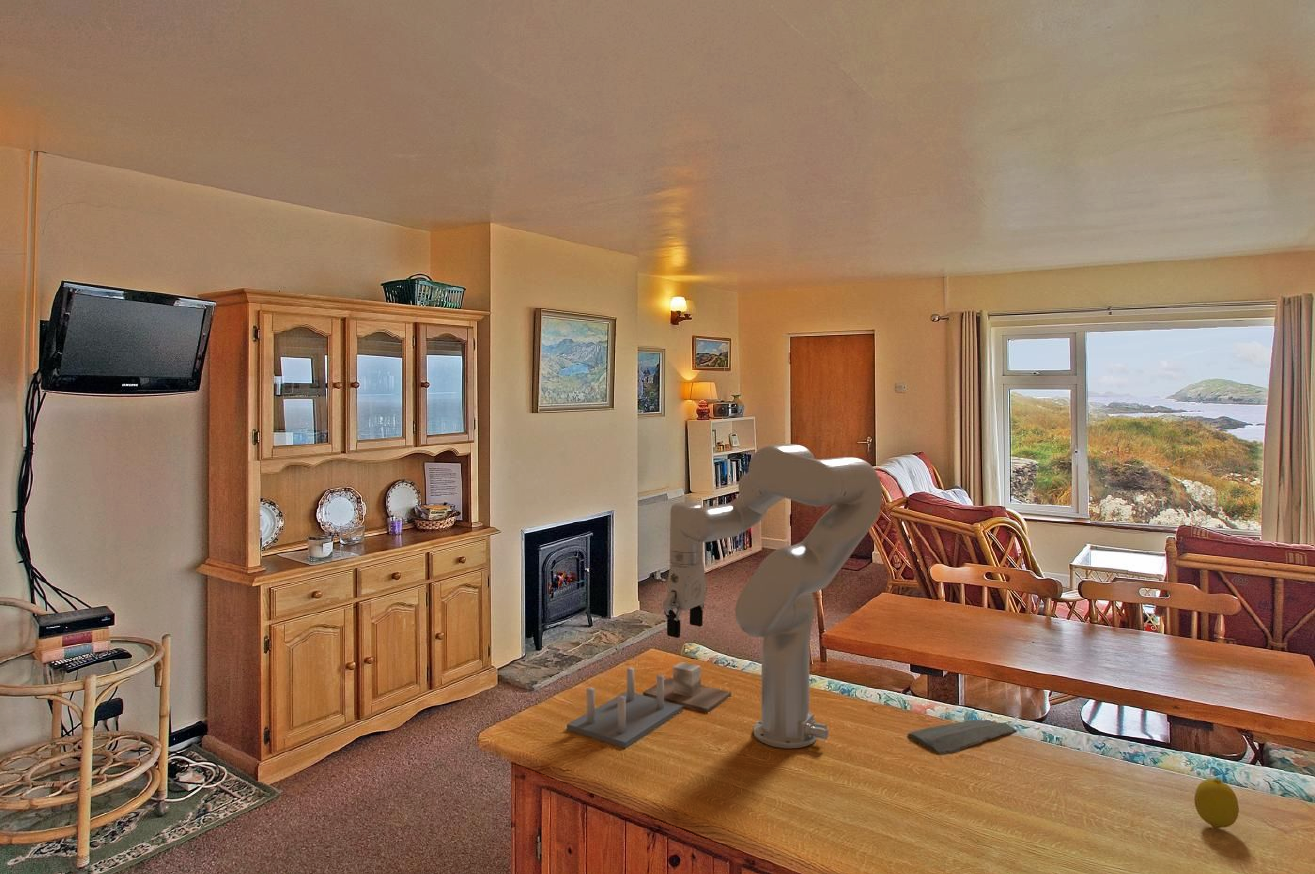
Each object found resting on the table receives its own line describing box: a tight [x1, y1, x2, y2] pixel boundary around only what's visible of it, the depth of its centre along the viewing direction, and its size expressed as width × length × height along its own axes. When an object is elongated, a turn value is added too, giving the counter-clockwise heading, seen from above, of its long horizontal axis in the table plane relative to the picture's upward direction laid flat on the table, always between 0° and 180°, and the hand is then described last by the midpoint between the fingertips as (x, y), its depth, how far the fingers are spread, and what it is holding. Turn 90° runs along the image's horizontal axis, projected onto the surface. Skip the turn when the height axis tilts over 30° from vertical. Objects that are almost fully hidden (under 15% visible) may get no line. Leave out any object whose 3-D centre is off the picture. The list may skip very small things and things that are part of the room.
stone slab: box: [907, 719, 1017, 755], centre depth 149 cm, size 22×3×10 cm
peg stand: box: [566, 667, 684, 749], centre depth 157 cm, size 15×21×8 cm
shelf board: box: [642, 661, 732, 714], centre depth 169 cm, size 17×11×8 cm, turn 57°
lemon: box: [1193, 778, 1240, 830], centre depth 116 cm, size 6×6×8 cm
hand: (685, 630), depth 169 cm, fingers open, 9 cm apart
